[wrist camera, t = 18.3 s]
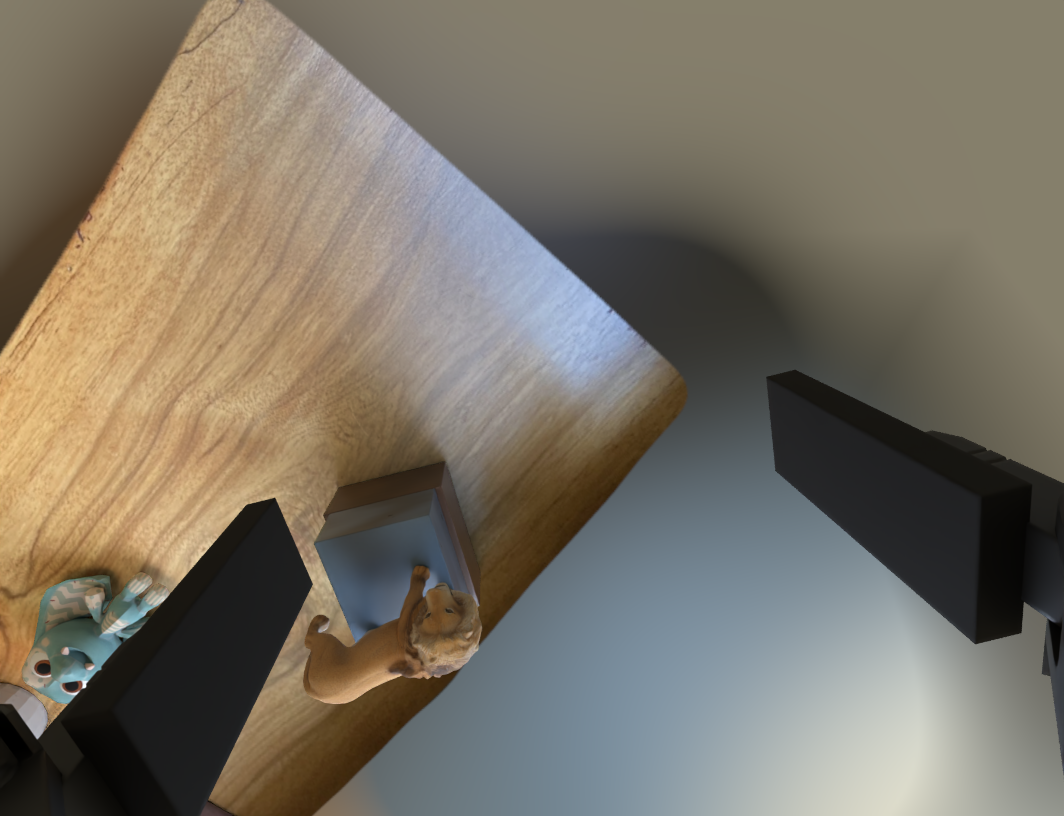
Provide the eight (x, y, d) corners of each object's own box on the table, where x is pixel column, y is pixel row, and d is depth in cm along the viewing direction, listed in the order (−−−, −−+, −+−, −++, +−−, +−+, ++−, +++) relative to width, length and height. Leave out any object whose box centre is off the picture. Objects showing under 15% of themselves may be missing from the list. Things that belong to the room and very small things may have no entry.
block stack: (445, 461, 45) (436, 512, 37) (480, 572, 49) (479, 641, 41) (338, 487, 45) (305, 544, 37) (381, 596, 49) (359, 670, 41)
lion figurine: (454, 519, 37) (443, 606, 29) (500, 573, 39) (504, 670, 30) (287, 631, 39) (232, 745, 31) (339, 678, 41) (299, 798, 32)
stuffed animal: (191, 650, 43) (76, 761, 42) (221, 602, 50) (122, 697, 49) (65, 565, 40) (-60, 684, 39) (116, 525, 47) (10, 627, 46)
